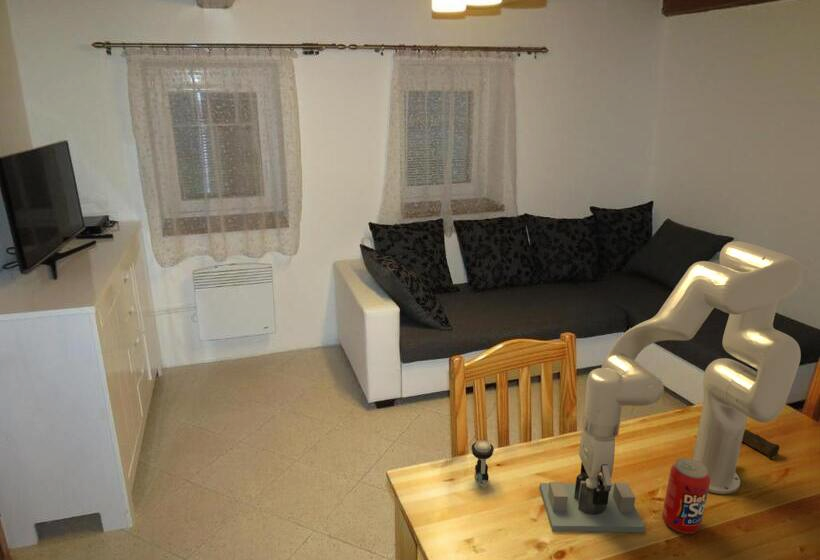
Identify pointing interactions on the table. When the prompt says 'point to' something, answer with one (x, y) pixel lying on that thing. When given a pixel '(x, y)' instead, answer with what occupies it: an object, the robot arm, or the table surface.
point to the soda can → (686, 495)
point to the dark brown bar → (760, 444)
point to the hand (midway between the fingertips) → (593, 488)
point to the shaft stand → (570, 518)
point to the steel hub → (587, 496)
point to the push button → (482, 460)
